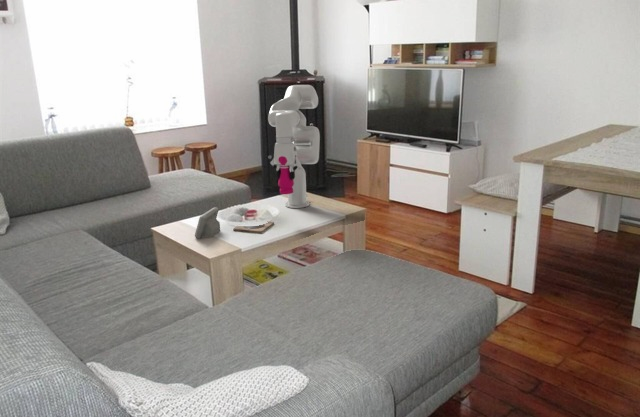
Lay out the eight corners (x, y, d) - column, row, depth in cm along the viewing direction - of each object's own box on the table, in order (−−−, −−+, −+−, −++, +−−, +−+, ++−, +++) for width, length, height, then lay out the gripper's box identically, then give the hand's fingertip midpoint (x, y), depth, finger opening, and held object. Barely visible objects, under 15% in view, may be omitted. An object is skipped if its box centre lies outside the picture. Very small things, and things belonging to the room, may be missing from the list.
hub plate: (247, 221, 256) (247, 219, 256) (274, 224, 252) (273, 221, 251) (233, 230, 244) (233, 228, 243) (261, 233, 239) (261, 230, 239)
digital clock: (211, 227, 249) (209, 205, 246) (227, 229, 245) (225, 207, 242) (188, 238, 235) (186, 215, 232) (205, 241, 231) (203, 217, 228)
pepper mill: (275, 193, 248) (273, 151, 242) (283, 189, 254) (281, 148, 248) (289, 195, 245) (286, 152, 239) (297, 191, 251) (294, 149, 245)
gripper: (305, 139, 243) (306, 178, 248) (270, 138, 248) (272, 176, 253) (299, 142, 236) (300, 182, 241) (264, 140, 242) (265, 180, 247)
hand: (286, 178), depth 247 cm, fingers closed on pepper mill, 5 cm apart
